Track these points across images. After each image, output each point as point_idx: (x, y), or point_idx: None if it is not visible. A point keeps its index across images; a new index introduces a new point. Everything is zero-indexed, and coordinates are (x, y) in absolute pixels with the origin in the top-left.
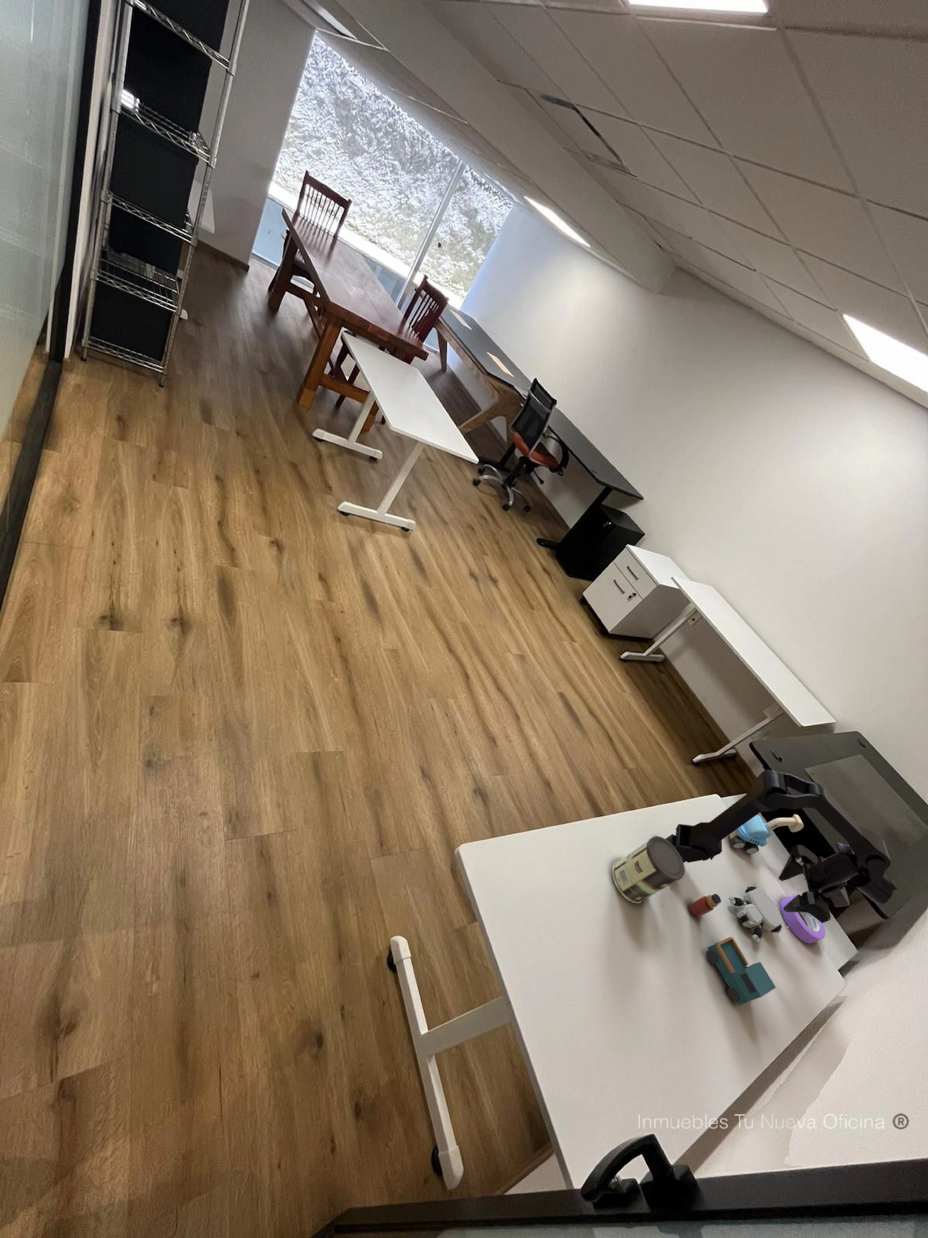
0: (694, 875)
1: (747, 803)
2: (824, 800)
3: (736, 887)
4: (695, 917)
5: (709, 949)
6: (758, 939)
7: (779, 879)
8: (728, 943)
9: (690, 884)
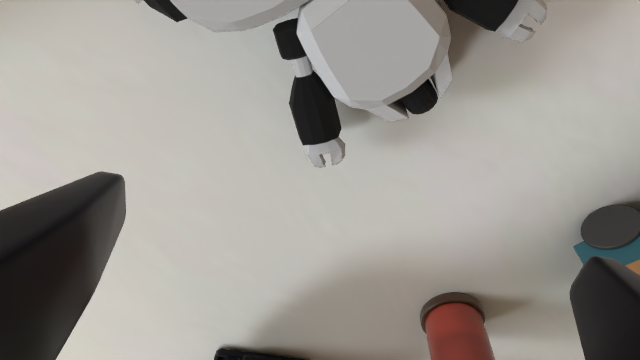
0: (269, 280)
1: None
2: None
3: (157, 13)
4: (483, 321)
5: None
6: (533, 13)
7: (124, 211)
8: None
9: (329, 306)
